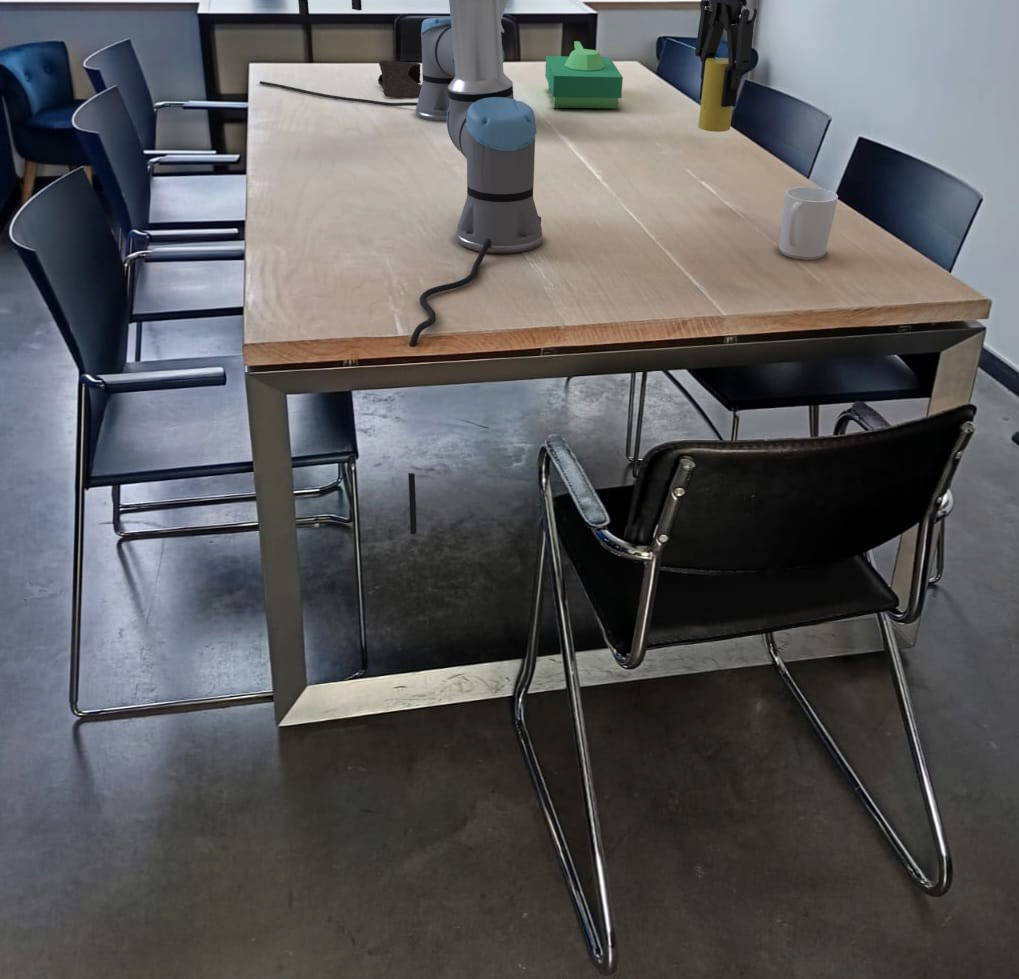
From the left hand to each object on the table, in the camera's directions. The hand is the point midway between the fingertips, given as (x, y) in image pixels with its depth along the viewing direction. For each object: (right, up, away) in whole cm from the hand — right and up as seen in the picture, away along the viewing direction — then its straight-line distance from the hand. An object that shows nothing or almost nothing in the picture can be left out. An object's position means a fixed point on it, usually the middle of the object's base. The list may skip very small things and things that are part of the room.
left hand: (330, 12), depth 239 cm
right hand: (+78, -31, -33) cm, 90 cm away
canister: (+78, -35, -30) cm, 91 cm away
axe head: (+10, +5, +61) cm, 62 cm away
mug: (+90, -63, -46) cm, 119 cm away
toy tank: (+58, +3, +60) cm, 83 cm away
